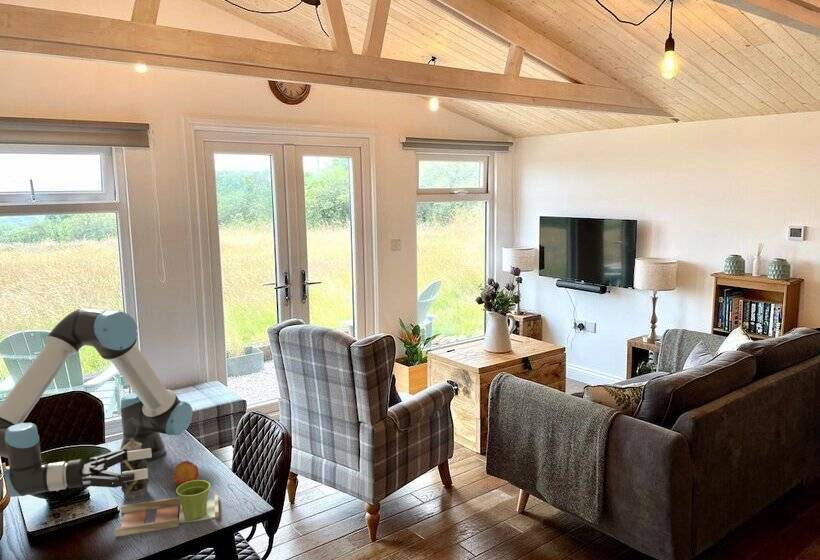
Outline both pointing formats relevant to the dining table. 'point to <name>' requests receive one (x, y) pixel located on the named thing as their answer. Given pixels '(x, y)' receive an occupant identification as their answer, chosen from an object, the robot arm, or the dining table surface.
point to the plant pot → (193, 498)
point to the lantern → (135, 487)
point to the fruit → (185, 473)
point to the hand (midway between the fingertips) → (149, 462)
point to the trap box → (159, 515)
